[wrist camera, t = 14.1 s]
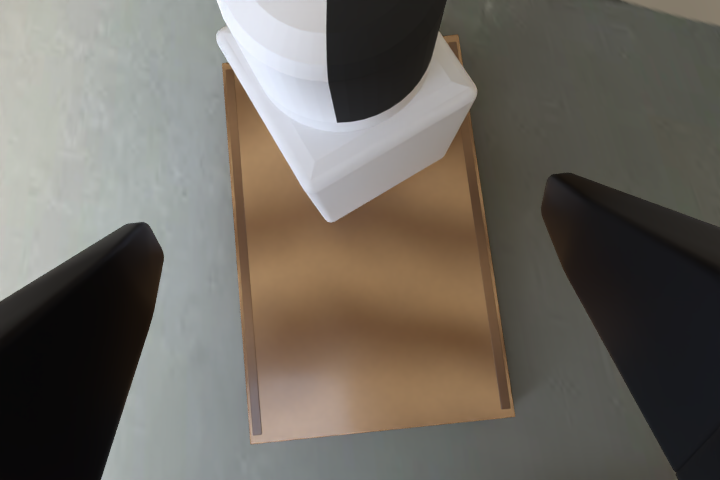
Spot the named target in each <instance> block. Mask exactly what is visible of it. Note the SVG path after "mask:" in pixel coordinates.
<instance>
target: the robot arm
mask: <svg viewBox="0 0 720 480" xmlns="http://www.w3.org/2000/svg"><path fill="white" fill-rule="evenodd" d="M541 213H542V217H543V220H544V222H545V225H546V227H547V230H548V232H549V235H550V237H551V240H552V242H553V245H554V247H555V250H556V252H557V255H558V257H559V260H560V262H561V265H562V267H563V269H564V271H565V273H566V275H567V277H568V279H569V281H570V283H571V285H572V286H573V288H574V290H575V292H576V294H577V296H578V297H579V299H580V301H581V303H582V305H583V306H584V308H585V310H586V312H587V314H588V316H589V317H590V319H591V321H592V323H593V325H594V326H595V328H596V330H597V332H598V334H599V336H600V337H601V339H602V341H603V343H604V345H605V346H606V348H607V350H608V352H609V354H610V356H611V357H612V359H613V361H614V363H615V365H616V366H617V368H618V370H619V372H620V374H621V376H622V377H623V379H624V381H625V383H626V385H627V386H628V388H629V390H630V392H631V394H632V396H633V397H634V399H635V401H636V403H637V405H638V406H639V408H640V410H641V412H642V414H643V416H644V417H645V419H646V421H647V423H648V425H649V426H650V428H651V430H652V432H653V434H654V436H655V437H656V439H657V441H658V443H659V445H660V446H661V448H662V450H663V452H664V454H665V456H666V457H667V459H668V461H669V463H670V465H671V466H672V468H673V470H674V471H675V472H677V473H676V476H677V478H678V480H720V227H717V226H714V225H712V224H709V223H706V222H704V221H701V220H698V219H695V218H693V217H690V216H687V215H684V214H682V213H679V212H676V211H673V210H671V209H668V208H665V207H662V206H660V205H657V204H654V203H651V202H649V201H646V200H643V199H641V198H638V197H635V196H632V195H630V194H627V193H624V192H621V191H619V190H616V189H613V188H610V187H608V186H605V185H602V184H599V183H597V182H594V181H591V180H589V179H586V178H583V177H580V176H578V175H575V174H572V173H560V174H553V175H551V176H550V177H549V178H548V180H547V183H546V187H545V192H544V196H543V201H542V206H541ZM163 261H164V255H163V251H162V248H161V246H160V244H159V243H158V241H157V239H156V237H155V235H154V233H153V231H152V229H151V228H150V226H149V225H148V224H147V223H144V222H139V223H130V224H126V225H124V226H122V227H121V228H119V229H117V230H116V231H114V232H112V233H111V234H109V235H108V236H106V237H104V238H103V239H101V240H99V241H98V242H96V243H95V244H93V245H91V246H90V247H88V248H86V249H85V250H83V251H82V252H80V253H78V254H77V255H75V256H73V257H72V258H70V259H69V260H67V261H65V262H64V263H62V264H60V265H59V266H57V267H56V268H54V269H52V270H51V271H49V272H47V273H46V274H44V275H43V276H41V277H39V278H38V279H36V280H34V281H33V282H31V283H30V284H28V285H26V286H25V287H23V288H22V289H20V290H18V291H17V292H15V293H13V294H12V295H10V296H9V297H7V298H5V299H4V300H2V301H0V480H101V477H102V474H103V471H104V468H105V465H106V462H107V459H108V456H109V452H110V449H111V446H112V443H113V440H114V437H115V434H116V430H117V427H118V424H119V421H120V418H121V415H122V412H123V409H124V405H125V402H126V399H127V396H128V393H129V390H130V387H131V383H132V380H133V377H134V374H135V371H136V368H137V365H138V362H139V358H140V355H141V352H142V349H143V346H144V343H145V340H146V336H147V333H148V330H149V327H150V324H151V320H152V317H153V313H154V308H155V303H156V298H157V293H158V287H159V282H160V277H161V272H162V266H163Z"/></svg>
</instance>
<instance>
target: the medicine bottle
mask: <svg viewBox="0 0 720 480" xmlns="http://www.w3.org/2000/svg"><path fill="white" fill-rule="evenodd" d="M446 1H447V0H217V2H218V5H219V8H220V11H221V13H222V16H223V19H224V20H225V22H226V24H227V26H225V27H223V28H221V29H220V30H219V31H218V32H217V34H216V39H217V43H218V45H219V47H220V49H221V51H222V52H223V54H224V56H225V57H226V59H227V61H228V62H229V64H230V66H231V68H232V69H233V71H234V73H235V74H236V76H237V78H238V79H239V81H240V83H241V84H242V86H243V88H244V90H245V91H246V93H247V95H248V96H249V98H250V100H251V101H252V103H253V105H254V107H255V108H256V110H257V112H258V113H259V115H260V117H261V118H262V120H263V122H264V123H265V125H266V127H267V129H268V130H269V132H270V134H271V135H272V137H273V139H274V140H275V142H276V144H277V146H278V147H279V149H280V151H281V152H282V154H283V156H284V157H285V159H286V161H287V162H288V164H289V166H290V168H291V169H292V171H293V173H294V174H295V176H296V178H297V179H298V181H299V183H300V185H301V186H302V188H303V189H304V191H305V192H306V194H307V195H308V196H309V198H310V199H311V201H312V202H313V203H314V205H315V206H316V208H317V209H318V210H319V212H320V213H321V215H322V216H323V217H324V219H325V220H326V221H327V222H335V221H336V220H338V219H340V218H342V217H343V216H345V215H347V214H348V213H350V212H352V211H353V210H355V209H357V208H359V207H360V206H362V205H364V204H365V203H367V202H369V201H370V200H372V199H374V198H375V197H377V196H379V195H381V194H382V193H384V192H386V191H387V190H389V189H391V188H392V187H394V186H396V185H397V184H399V183H401V182H403V181H404V180H406V179H408V178H409V177H411V176H413V175H414V174H416V173H418V172H419V171H421V170H423V169H425V168H426V167H428V166H430V165H431V164H433V163H435V162H436V161H438V160H440V159H441V158H443V157H444V156H445V154H446V152H447V150H448V148H449V146H450V145H451V143H452V141H453V139H454V137H455V135H456V134H457V132H458V130H459V128H460V126H461V124H462V123H463V121H464V119H465V117H466V115H467V113H468V112H469V110H470V108H471V106H472V104H473V102H474V100H475V99H476V96H477V88H476V85H475V84H474V82H473V81H472V79H471V78H470V76H469V75H468V73H467V72H466V71H465V69H464V68H463V66H462V65H461V63H460V62H459V60H458V59H457V57H456V56H455V54H454V53H453V51H452V50H451V48H450V47H449V45H448V44H447V42H446V41H445V39H444V38H443V36H442V35H441V33H440V32H439V28H440V24H441V20H442V16H443V12H444V8H445V5H446Z"/></svg>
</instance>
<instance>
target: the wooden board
mask: <svg viewBox="0 0 720 480" xmlns="http://www.w3.org/2000/svg"><path fill="white" fill-rule="evenodd" d="M443 38H444V39H445V41H446V42H447V44H448V45H449V47H450V48H451V50H452V51H453V53H454V54H455V56H456V57H457V59H458V60H459V62H460V63H461V65H462V66H463V63H462V56H461V49H460V43H459V36H458V35H450V36H443ZM222 69H223V82H224V96H225V109H226V123H227V136H228V149H229V163H230V176H231V190H232V203H233V217H234V230H235V243H236V257H237V270H238V284H239V297H240V310H241V324H242V337H243V351H244V364H245V377H246V391H247V404H248V418H249V431H250V444H259V443H269V442H279V441H288V440H298V439H307V438H317V437H327V436H336V435H346V434H355V433H365V432H374V431H384V430H394V429H403V428H413V427H422V426H432V425H441V424H451V423H461V422H470V421H480V420H489V419H499V418H508V417H515V412H514V405H513V399H512V392H511V385H510V378H509V372H508V365H507V358H506V352H505V345H504V338H503V331H502V325H501V318H500V311H499V305H498V298H497V291H496V284H495V278H494V271H493V264H492V258H491V251H490V244H489V237H488V231H487V224H486V217H485V211H484V204H483V197H482V190H481V184H480V177H479V170H478V164H477V157H476V150H475V143H474V137H473V130H472V123H471V117H470V110H469V112H468V113H467V115H466V117H465V119H464V121H463V123H462V124H461V126H460V128H459V130H458V132H457V134H456V135H455V137H454V139H453V141H452V143H451V145H450V146H449V148H448V150H447V152H446V154H445V156H444V157H443V158H441V159H440V160H438V161H436V162H435V163H433V164H431V165H430V166H428V167H426V168H425V169H423V170H421V171H419V172H418V173H416V174H414V175H413V176H411V177H409V178H408V179H406V180H404V181H403V182H401V183H399V184H397V185H396V186H394V187H392V188H391V189H389V190H387V191H386V192H384V193H382V194H381V195H379V196H377V197H375V198H374V199H372V200H370V201H369V202H367V203H365V204H364V205H362V206H360V207H359V208H357V209H355V210H353V211H352V212H350V213H348V214H347V215H345V216H343V217H342V218H340V219H338V220H336V221H335V222H327V221H326V220H325V219H324V217H323V216H322V215H321V213H320V212H319V210H318V209H317V208H316V206H315V205H314V203H313V202H312V201H311V199H310V198H309V196H308V195H307V194H306V192H305V191H304V189H303V188H302V186H301V185H300V183H299V181H298V179H297V178H296V176H295V174H294V173H293V171H292V169H291V168H290V166H289V164H288V162H287V161H286V159H285V157H284V156H283V154H282V152H281V151H280V149H279V147H278V146H277V144H276V142H275V140H274V139H273V137H272V135H271V134H270V132H269V130H268V129H267V127H266V125H265V123H264V122H263V120H262V118H261V117H260V115H259V113H258V112H257V110H256V108H255V107H254V105H253V103H252V101H251V100H250V98H249V96H248V95H247V93H246V91H245V90H244V88H243V86H242V84H241V83H240V81H239V79H238V78H237V76H236V74H235V73H234V71H233V69H232V68H231V66H230V64H229V63H222Z"/></svg>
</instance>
